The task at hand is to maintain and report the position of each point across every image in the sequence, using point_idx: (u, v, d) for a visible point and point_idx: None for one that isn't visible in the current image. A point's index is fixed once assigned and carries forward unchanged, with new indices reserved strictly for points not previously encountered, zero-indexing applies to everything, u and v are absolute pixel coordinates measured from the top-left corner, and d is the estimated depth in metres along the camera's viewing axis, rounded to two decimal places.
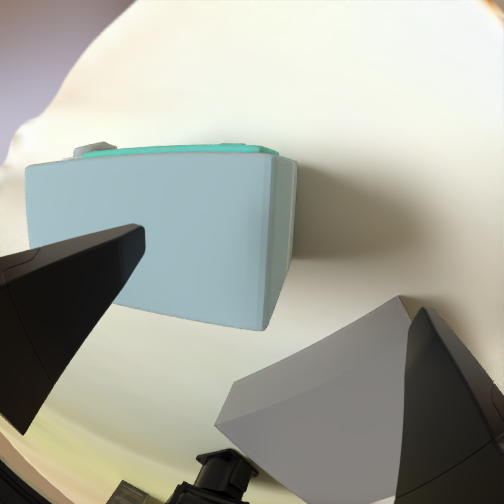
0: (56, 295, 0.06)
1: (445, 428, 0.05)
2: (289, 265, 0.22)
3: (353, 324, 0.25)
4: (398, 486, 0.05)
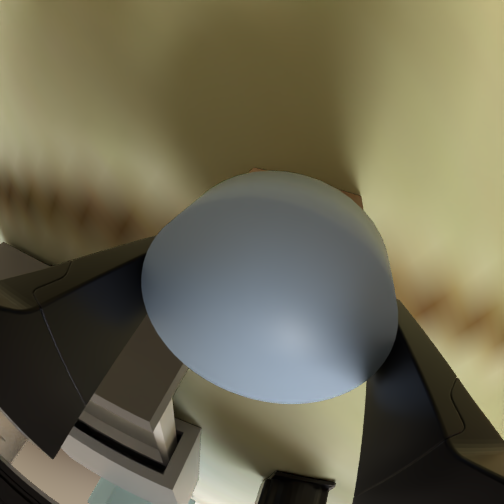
0: (92, 314, 0.06)
1: (400, 423, 0.05)
2: None
3: None
4: (357, 483, 0.06)
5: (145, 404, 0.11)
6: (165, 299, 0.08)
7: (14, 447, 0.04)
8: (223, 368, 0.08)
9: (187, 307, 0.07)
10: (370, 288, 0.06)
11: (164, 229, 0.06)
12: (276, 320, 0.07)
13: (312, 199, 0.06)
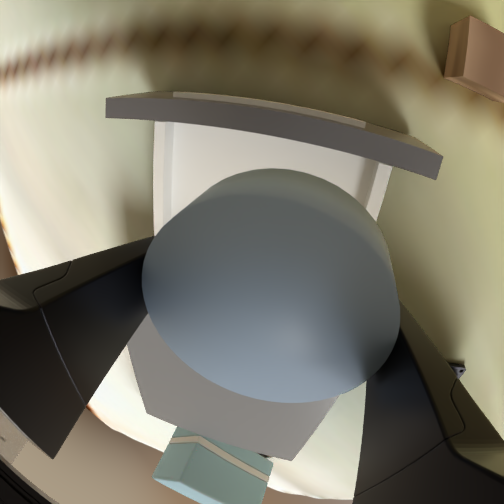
0: (92, 314, 0.06)
1: (400, 423, 0.05)
2: None
3: None
4: (357, 483, 0.06)
5: (429, 150, 0.12)
6: (165, 297, 0.08)
7: (14, 447, 0.04)
8: (224, 367, 0.08)
9: (188, 306, 0.07)
10: (372, 286, 0.06)
11: (166, 226, 0.06)
12: (278, 318, 0.07)
13: (314, 196, 0.06)
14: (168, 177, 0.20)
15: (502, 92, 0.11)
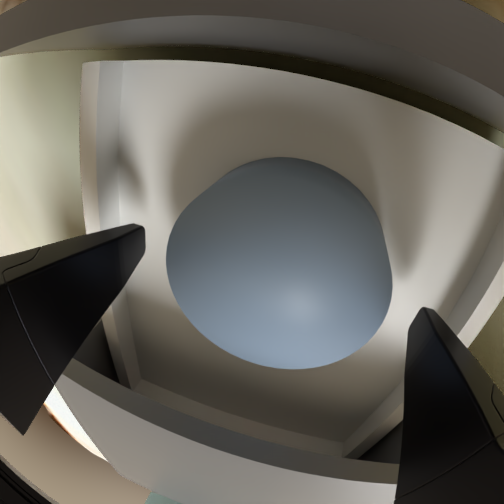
0: (56, 295, 0.06)
1: (445, 428, 0.05)
2: None
3: None
4: (398, 486, 0.05)
5: None
6: (187, 268, 0.09)
7: None
8: (237, 334, 0.09)
9: (208, 275, 0.09)
10: (367, 252, 0.07)
11: (191, 203, 0.08)
12: (287, 283, 0.08)
13: (317, 178, 0.07)
14: (109, 173, 0.10)
15: None
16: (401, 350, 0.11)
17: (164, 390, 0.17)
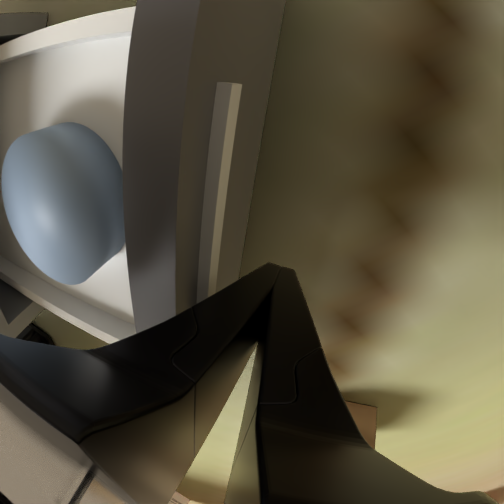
0: (225, 369, 0.06)
1: (251, 390, 0.05)
2: None
3: None
4: (234, 457, 0.06)
5: None
6: (29, 152, 0.08)
7: None
8: (12, 192, 0.10)
9: (31, 169, 0.09)
10: (82, 269, 0.10)
11: (62, 153, 0.08)
12: (48, 223, 0.10)
13: (108, 230, 0.10)
14: (94, 38, 0.07)
15: None
16: None
17: None
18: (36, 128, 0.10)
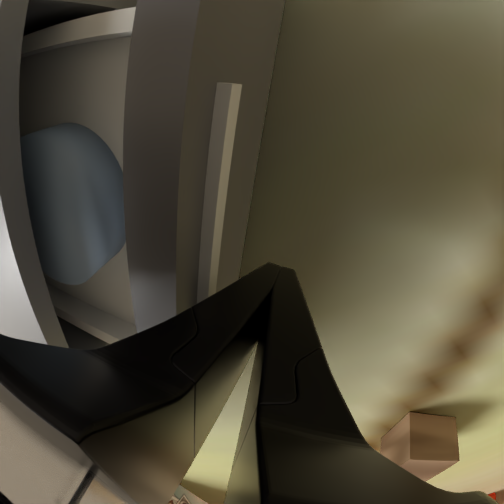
0: (225, 369, 0.06)
1: (251, 390, 0.05)
2: None
3: None
4: (234, 457, 0.06)
5: None
6: (29, 153, 0.08)
7: None
8: None
9: (31, 170, 0.09)
10: (83, 269, 0.10)
11: (62, 153, 0.08)
12: (49, 224, 0.10)
13: (108, 229, 0.10)
14: (94, 39, 0.07)
15: None
16: None
17: None
18: (36, 128, 0.10)
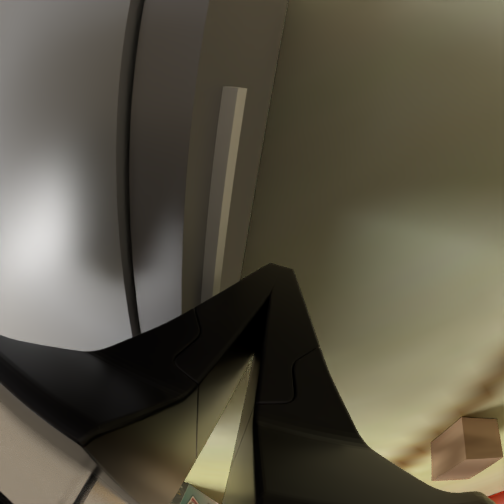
0: (228, 370, 0.06)
1: (249, 389, 0.05)
2: None
3: None
4: None
5: None
6: None
7: None
8: None
9: None
10: None
11: None
12: None
13: None
14: None
15: (444, 474, 0.13)
16: None
17: None
18: None
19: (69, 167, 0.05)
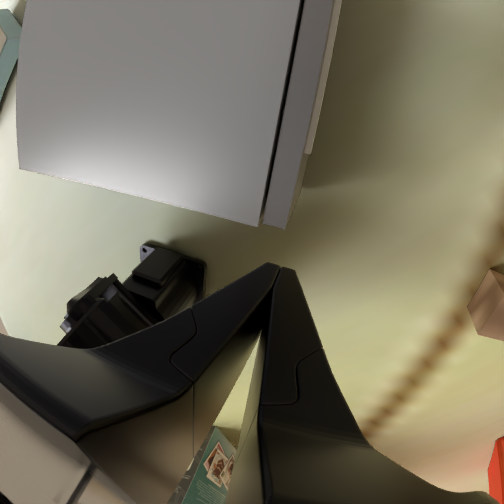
0: (224, 369, 0.06)
1: (252, 390, 0.05)
2: (15, 35, 0.17)
3: None
4: (235, 457, 0.06)
5: (289, 215, 0.16)
6: None
7: None
8: None
9: None
10: None
11: None
12: None
13: None
14: None
15: (488, 323, 0.17)
16: None
17: None
18: None
19: None
